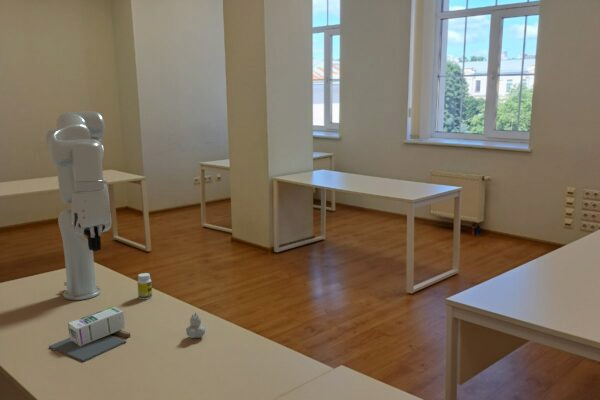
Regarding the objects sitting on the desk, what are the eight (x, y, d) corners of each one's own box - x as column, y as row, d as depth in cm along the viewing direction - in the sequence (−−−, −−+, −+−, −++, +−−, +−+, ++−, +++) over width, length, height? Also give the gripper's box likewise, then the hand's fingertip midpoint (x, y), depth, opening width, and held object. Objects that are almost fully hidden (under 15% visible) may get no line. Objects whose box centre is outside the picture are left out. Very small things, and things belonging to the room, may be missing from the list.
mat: (48, 347, 157) (48, 346, 156) (91, 330, 168) (91, 328, 168) (83, 362, 148) (83, 360, 148) (126, 342, 159) (125, 340, 159)
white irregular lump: (208, 334, 164) (207, 308, 163) (199, 343, 158) (198, 317, 156) (191, 332, 165) (190, 307, 164) (182, 342, 159) (180, 316, 158)
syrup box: (123, 310, 165) (76, 327, 154) (125, 329, 166) (78, 347, 156) (113, 305, 168) (67, 322, 158) (116, 323, 170) (69, 341, 160)
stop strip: (101, 329, 169) (101, 325, 169) (104, 328, 170) (104, 324, 169) (127, 338, 162) (127, 334, 162) (130, 336, 163) (130, 333, 163)
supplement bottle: (150, 299, 193) (148, 276, 191) (136, 299, 193) (135, 277, 191) (154, 295, 198) (152, 272, 196) (140, 295, 198) (139, 272, 196)
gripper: (103, 181, 162) (108, 242, 165) (57, 189, 150) (63, 254, 153) (120, 183, 158) (125, 245, 161) (74, 191, 145) (80, 258, 149)
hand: (95, 249), depth 157 cm, fingers closed
